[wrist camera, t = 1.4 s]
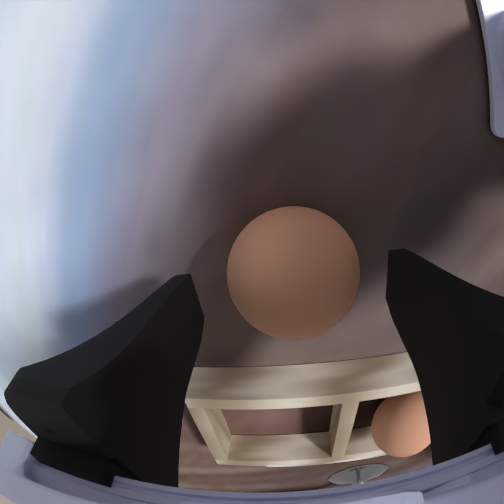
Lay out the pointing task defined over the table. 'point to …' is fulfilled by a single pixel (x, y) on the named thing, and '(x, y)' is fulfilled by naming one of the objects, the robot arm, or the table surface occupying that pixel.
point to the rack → (296, 396)
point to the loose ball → (293, 272)
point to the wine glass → (358, 474)
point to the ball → (401, 425)
